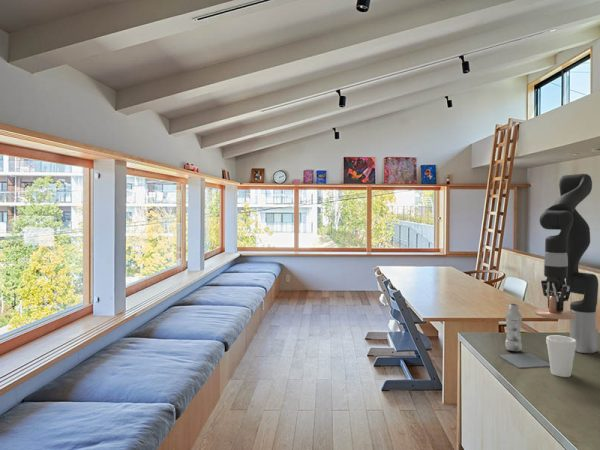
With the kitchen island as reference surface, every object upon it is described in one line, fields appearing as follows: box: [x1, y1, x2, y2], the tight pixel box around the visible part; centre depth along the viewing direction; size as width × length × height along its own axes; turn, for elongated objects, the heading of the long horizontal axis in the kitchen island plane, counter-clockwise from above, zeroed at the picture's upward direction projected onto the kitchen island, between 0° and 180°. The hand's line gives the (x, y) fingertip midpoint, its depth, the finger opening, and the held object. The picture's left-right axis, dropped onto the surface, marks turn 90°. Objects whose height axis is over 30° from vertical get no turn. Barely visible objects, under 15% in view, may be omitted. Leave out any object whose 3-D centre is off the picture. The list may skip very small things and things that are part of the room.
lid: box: [535, 295, 576, 320], centre depth 161 cm, size 13×13×7 cm
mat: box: [497, 352, 550, 369], centre depth 174 cm, size 14×14×1 cm
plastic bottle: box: [504, 303, 523, 352], centre depth 185 cm, size 6×7×20 cm
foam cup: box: [545, 334, 576, 378], centre depth 160 cm, size 10×9×13 cm
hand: (555, 309), depth 161 cm, fingers closed on lid, 4 cm apart
